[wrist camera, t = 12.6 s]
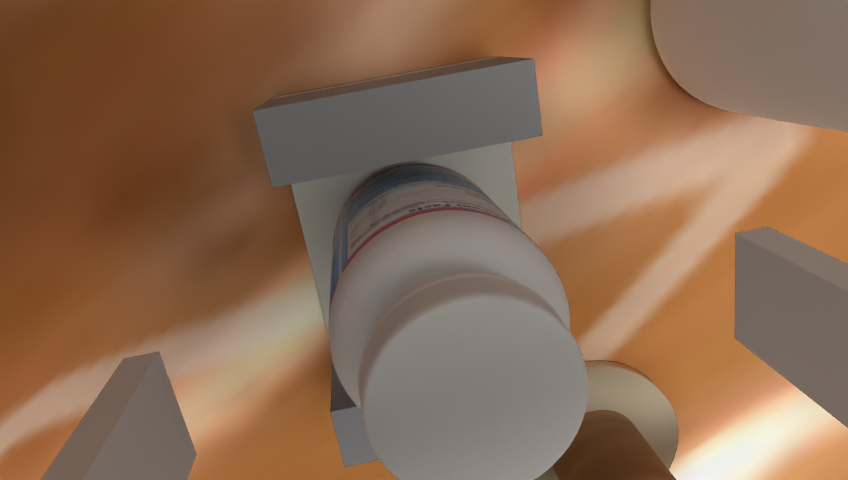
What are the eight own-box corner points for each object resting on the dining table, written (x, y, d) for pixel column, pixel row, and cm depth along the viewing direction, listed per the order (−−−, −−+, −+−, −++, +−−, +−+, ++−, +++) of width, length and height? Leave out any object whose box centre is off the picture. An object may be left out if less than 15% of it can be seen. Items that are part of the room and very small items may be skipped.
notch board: (273, 97, 21) (252, 111, 17) (493, 56, 22) (533, 58, 17) (345, 388, 25) (344, 467, 20) (531, 347, 26) (573, 416, 21)
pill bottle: (457, 333, 24) (547, 560, 13) (310, 283, 23) (277, 492, 12) (523, 193, 23) (680, 323, 12) (369, 131, 21) (392, 214, 11)
